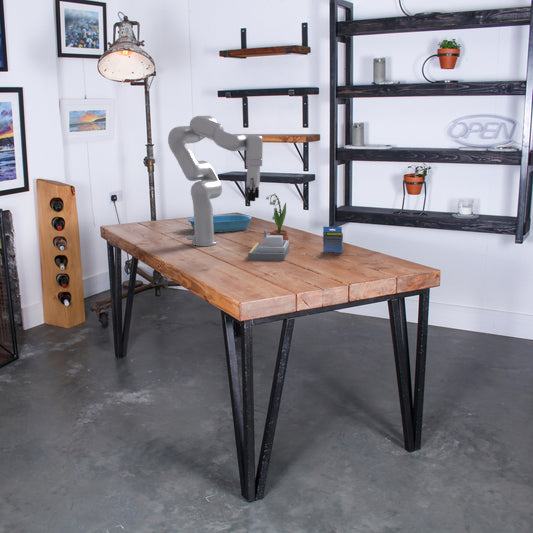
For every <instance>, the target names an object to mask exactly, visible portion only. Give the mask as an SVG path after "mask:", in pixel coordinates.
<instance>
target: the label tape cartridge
mask: <svg viewBox="0 0 533 533" xmlns="http://www.w3.org/2000/svg"><path fill="white" fill-rule="evenodd" d="M322 230H323V232H322V236H323V237H322V241H323V243H322V246H323V249H322V251H323V253H328V252H334V253H336V254H342V253H343V252H344V233H343V229H342V226H323V229H322ZM334 253H333V254H334Z"/></svg>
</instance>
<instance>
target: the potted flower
mask: <svg viewBox="0 0 533 533" xmlns="http://www.w3.org/2000/svg"><path fill="white" fill-rule="evenodd" d="M273 196H274V197H273ZM272 197H273V200H272ZM265 199H266V200H269V206H271V205H272V206H274V208H273V211H274V212H273V216H272V218H271V219H272V220H273V221H274V222H275V224H276V226H277V229H274V230H269V235H283V241H289V235H288V231H287V230H285V229H282V226H283V224H284V221H285V218H286V214H287V202H284V205H283V207H282V206H281V201H280V198H279V197H278V195H277V194H276V193H274V194H271V195H269V196H266V198H265ZM277 205H278V207H279V209H278V207H276V206H277ZM281 207H282V208H281ZM278 210H279V211H278Z"/></svg>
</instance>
